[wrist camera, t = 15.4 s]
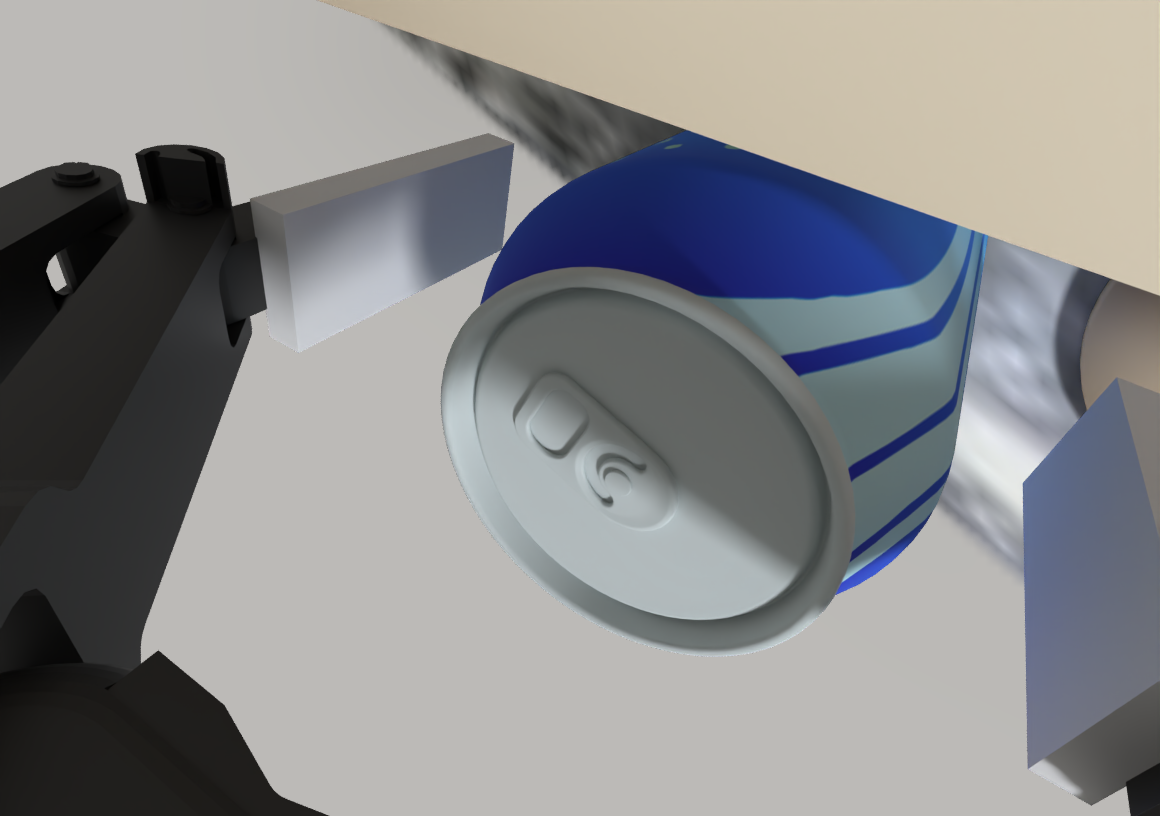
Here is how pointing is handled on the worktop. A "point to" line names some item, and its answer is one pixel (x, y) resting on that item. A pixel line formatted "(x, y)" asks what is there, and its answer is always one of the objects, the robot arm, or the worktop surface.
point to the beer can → (712, 392)
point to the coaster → (1121, 341)
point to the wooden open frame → (878, 98)
